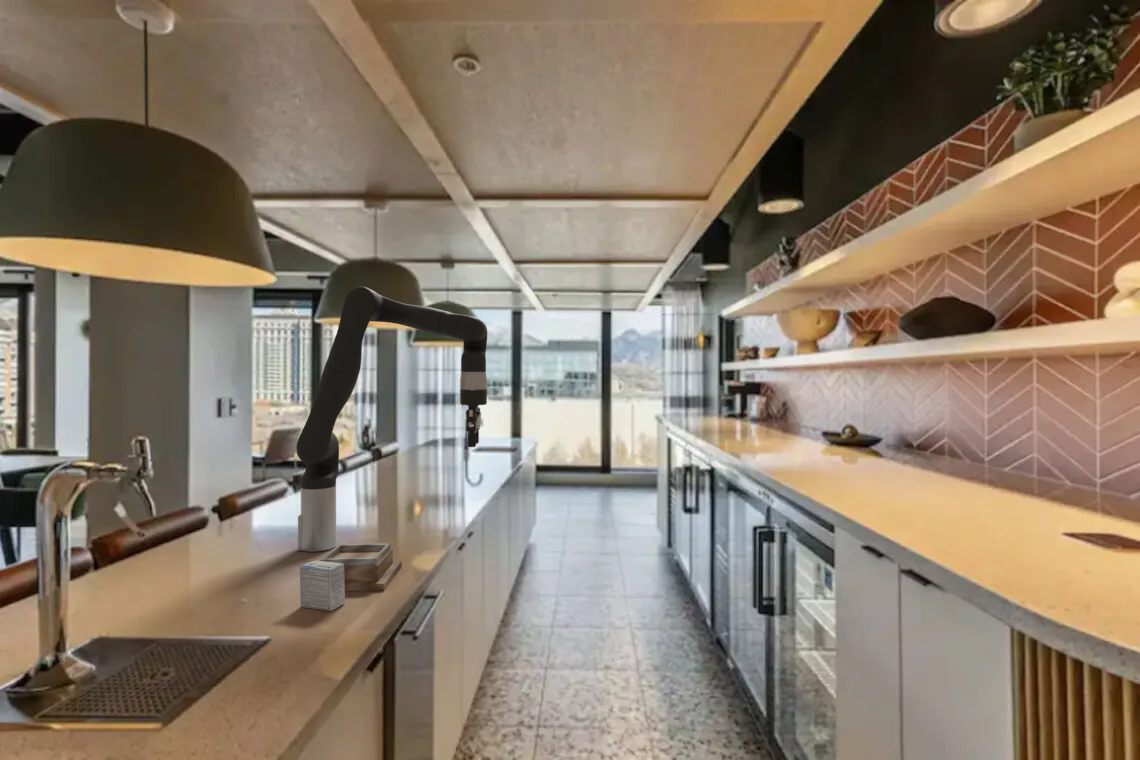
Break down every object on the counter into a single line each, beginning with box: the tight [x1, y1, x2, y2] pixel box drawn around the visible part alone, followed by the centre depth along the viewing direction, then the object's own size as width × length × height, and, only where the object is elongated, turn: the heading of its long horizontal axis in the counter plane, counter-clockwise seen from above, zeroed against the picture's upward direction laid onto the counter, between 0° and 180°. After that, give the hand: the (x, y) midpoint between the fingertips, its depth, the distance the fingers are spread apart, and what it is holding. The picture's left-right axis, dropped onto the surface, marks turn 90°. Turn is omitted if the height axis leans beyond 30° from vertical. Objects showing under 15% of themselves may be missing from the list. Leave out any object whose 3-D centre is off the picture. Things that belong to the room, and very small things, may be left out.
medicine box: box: [299, 560, 346, 612], centre depth 124 cm, size 8×4×9 cm, turn 71°
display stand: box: [319, 543, 403, 592], centre depth 142 cm, size 17×17×6 cm
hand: (473, 445), depth 169 cm, fingers open, 8 cm apart
